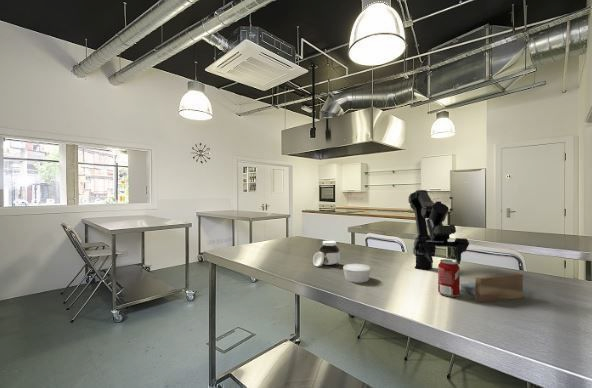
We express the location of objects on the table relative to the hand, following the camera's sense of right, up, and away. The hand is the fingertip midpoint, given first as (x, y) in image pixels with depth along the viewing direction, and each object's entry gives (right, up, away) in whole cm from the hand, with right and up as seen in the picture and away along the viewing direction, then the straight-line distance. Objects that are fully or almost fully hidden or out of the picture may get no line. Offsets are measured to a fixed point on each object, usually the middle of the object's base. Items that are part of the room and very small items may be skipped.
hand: (445, 263), depth 101 cm
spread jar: (-41, -10, +35) cm, 54 cm away
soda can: (-1, -11, -3) cm, 11 cm away
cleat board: (+13, -10, -2) cm, 17 cm away
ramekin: (-30, -10, +13) cm, 35 cm away
